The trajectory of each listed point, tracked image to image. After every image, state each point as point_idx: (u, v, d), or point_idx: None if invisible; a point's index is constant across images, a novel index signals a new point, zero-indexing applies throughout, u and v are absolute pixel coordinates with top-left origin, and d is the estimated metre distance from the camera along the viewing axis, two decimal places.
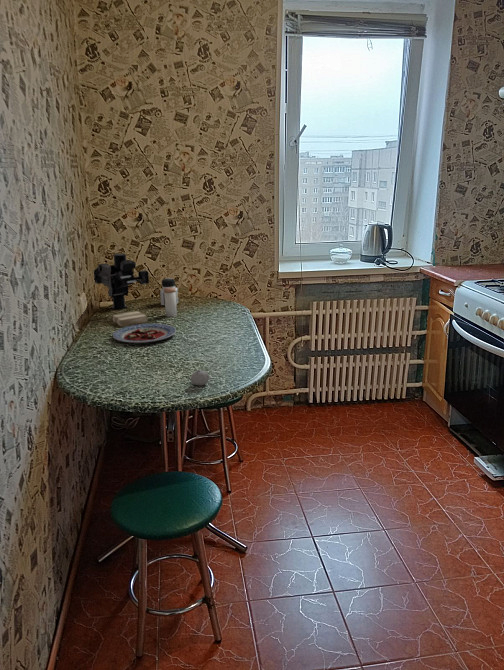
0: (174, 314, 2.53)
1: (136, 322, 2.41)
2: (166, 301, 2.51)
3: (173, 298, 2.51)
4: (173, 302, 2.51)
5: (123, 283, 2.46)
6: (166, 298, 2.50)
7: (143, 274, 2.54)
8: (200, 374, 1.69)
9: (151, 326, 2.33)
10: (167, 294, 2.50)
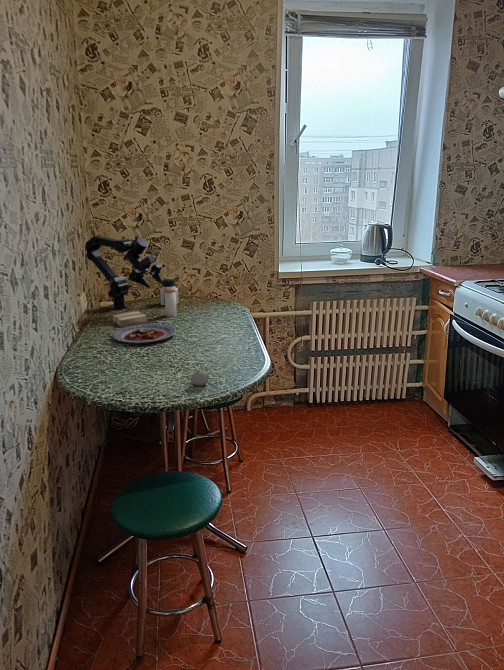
0: (174, 314, 2.53)
1: (136, 322, 2.41)
2: (166, 301, 2.51)
3: (173, 298, 2.51)
4: (173, 302, 2.51)
5: (146, 284, 2.51)
6: (166, 298, 2.50)
7: (159, 271, 2.60)
8: (200, 374, 1.69)
9: (151, 326, 2.33)
10: (167, 294, 2.50)
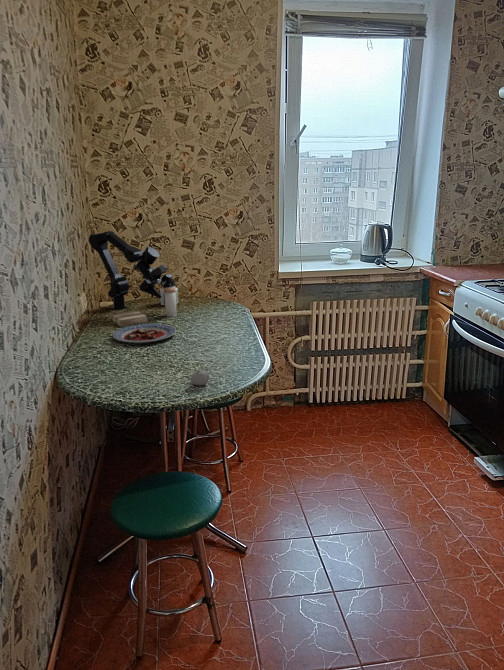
0: (174, 314, 2.53)
1: (136, 322, 2.41)
2: (166, 301, 2.51)
3: (173, 298, 2.51)
4: (173, 302, 2.51)
5: (157, 294, 2.49)
6: (166, 298, 2.50)
7: (170, 281, 2.58)
8: (200, 374, 1.69)
9: (151, 326, 2.33)
10: (167, 294, 2.50)
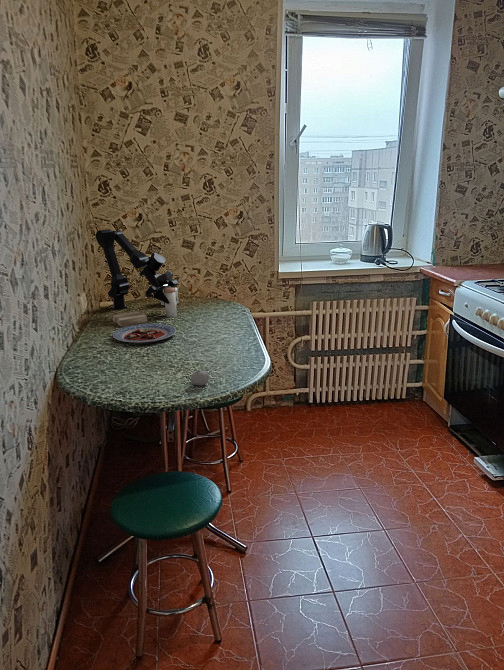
0: (174, 314, 2.53)
1: (136, 322, 2.41)
2: None
3: (173, 298, 2.51)
4: (173, 302, 2.51)
5: (165, 300, 2.50)
6: None
7: None
8: (200, 374, 1.69)
9: (151, 326, 2.33)
10: (167, 294, 2.50)
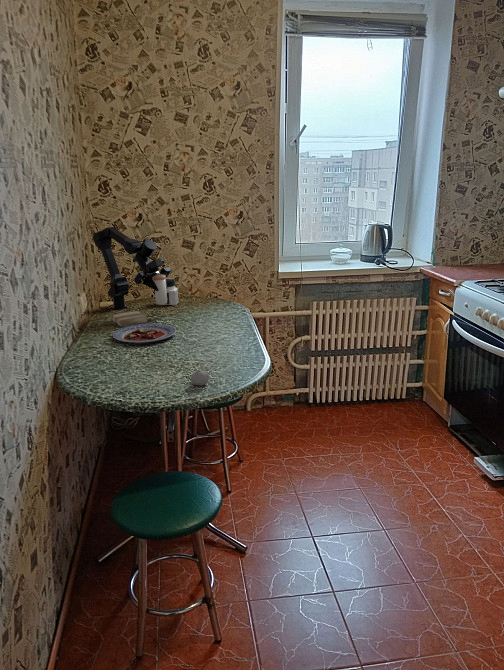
0: (163, 302, 2.48)
1: (136, 322, 2.41)
2: None
3: (162, 285, 2.46)
4: (162, 289, 2.46)
5: (154, 287, 2.45)
6: None
7: None
8: (200, 374, 1.69)
9: (151, 326, 2.33)
10: (156, 281, 2.45)
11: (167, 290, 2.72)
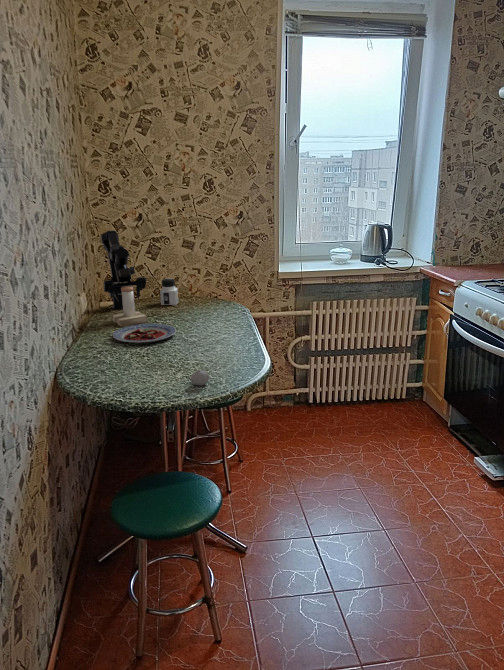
0: (128, 314, 2.42)
1: (136, 322, 2.41)
2: (122, 300, 2.42)
3: (127, 298, 2.40)
4: (127, 302, 2.41)
5: (116, 297, 2.40)
6: (122, 296, 2.42)
7: (139, 285, 2.44)
8: (200, 374, 1.69)
9: (151, 326, 2.33)
10: (122, 293, 2.40)
11: (167, 290, 2.72)
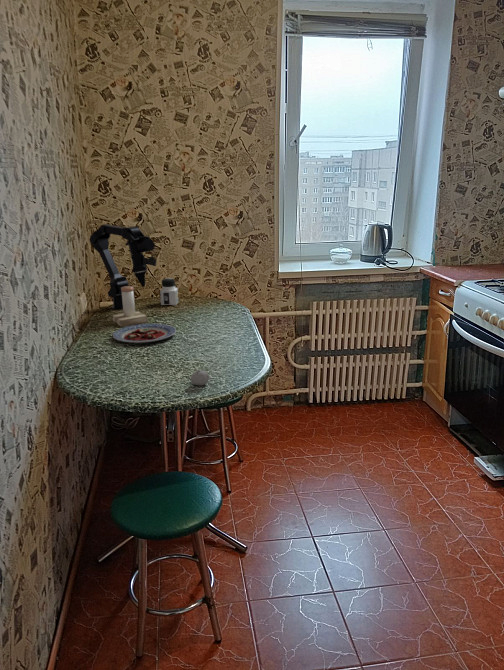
0: (128, 314, 2.42)
1: (136, 322, 2.41)
2: (122, 300, 2.42)
3: (127, 298, 2.40)
4: (127, 302, 2.41)
5: (142, 282, 2.52)
6: (122, 296, 2.42)
7: None
8: (200, 374, 1.69)
9: (151, 326, 2.33)
10: (122, 293, 2.40)
11: (167, 290, 2.72)
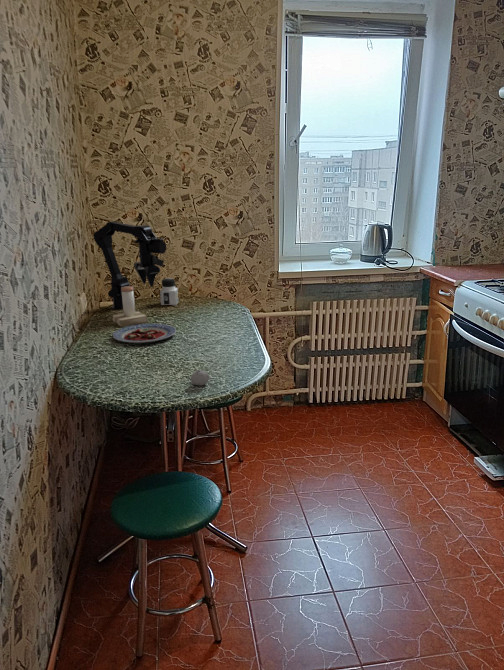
0: (128, 314, 2.42)
1: (136, 322, 2.41)
2: (122, 300, 2.42)
3: (127, 298, 2.40)
4: (127, 302, 2.41)
5: (152, 282, 2.55)
6: (122, 296, 2.42)
7: None
8: (200, 374, 1.69)
9: (151, 326, 2.33)
10: (122, 292, 2.41)
11: (167, 290, 2.72)
